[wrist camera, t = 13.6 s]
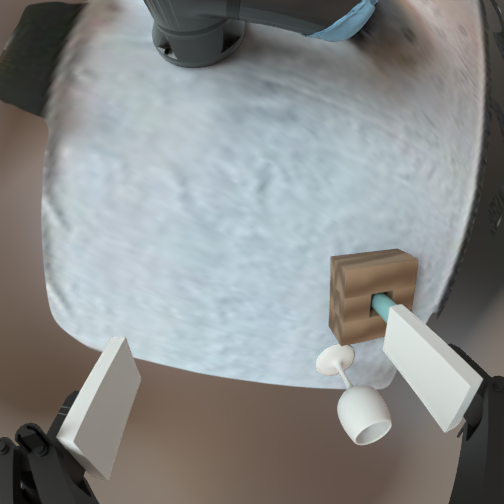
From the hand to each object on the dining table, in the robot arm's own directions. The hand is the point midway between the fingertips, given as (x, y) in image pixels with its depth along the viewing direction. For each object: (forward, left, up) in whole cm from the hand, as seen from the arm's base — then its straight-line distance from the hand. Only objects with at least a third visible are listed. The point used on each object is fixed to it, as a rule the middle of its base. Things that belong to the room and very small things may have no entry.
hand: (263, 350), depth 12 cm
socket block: (+14, +22, -33) cm, 42 cm away
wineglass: (+30, +17, -33) cm, 48 cm away
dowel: (+14, +22, -31) cm, 40 cm away
